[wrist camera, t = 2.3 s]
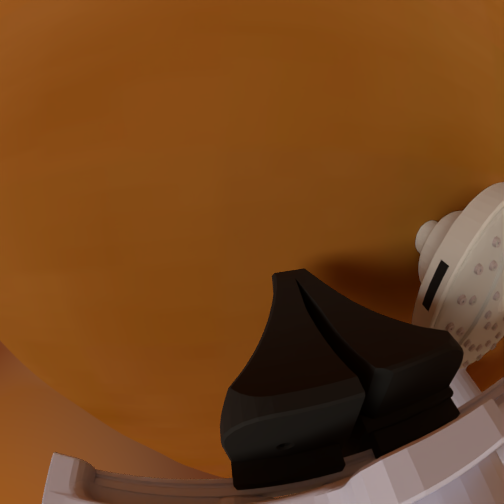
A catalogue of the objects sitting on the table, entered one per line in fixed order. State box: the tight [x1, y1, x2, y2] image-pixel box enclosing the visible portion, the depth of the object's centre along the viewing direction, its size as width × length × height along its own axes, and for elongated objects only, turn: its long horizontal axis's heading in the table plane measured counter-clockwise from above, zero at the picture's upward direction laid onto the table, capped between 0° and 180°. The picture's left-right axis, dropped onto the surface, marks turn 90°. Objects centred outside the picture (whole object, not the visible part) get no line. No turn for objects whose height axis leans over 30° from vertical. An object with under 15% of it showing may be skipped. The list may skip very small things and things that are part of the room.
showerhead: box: [412, 182, 504, 369], centre depth 11 cm, size 9×7×10 cm
